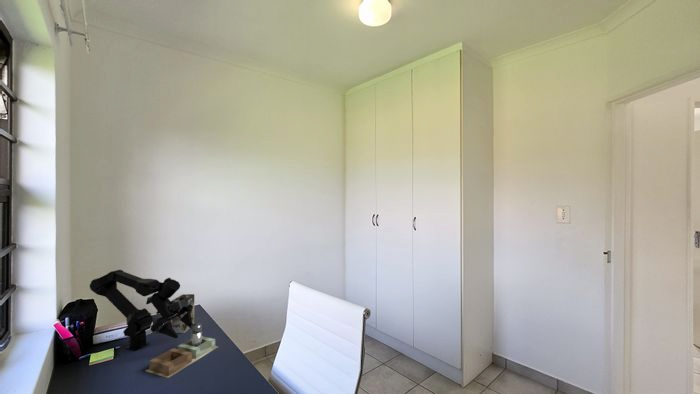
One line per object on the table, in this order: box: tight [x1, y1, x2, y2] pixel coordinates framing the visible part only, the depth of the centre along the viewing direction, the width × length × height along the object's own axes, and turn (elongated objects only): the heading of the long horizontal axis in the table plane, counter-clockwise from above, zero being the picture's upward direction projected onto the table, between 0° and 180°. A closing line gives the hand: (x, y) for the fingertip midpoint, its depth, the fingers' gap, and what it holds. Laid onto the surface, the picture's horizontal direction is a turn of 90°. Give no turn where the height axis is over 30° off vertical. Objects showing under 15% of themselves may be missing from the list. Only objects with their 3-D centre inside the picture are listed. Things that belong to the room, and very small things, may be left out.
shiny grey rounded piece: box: [190, 322, 203, 347], centre depth 126 cm, size 4×4×11 cm
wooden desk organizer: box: [145, 335, 219, 379], centre depth 121 cm, size 12×24×4 cm, turn 160°
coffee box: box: [171, 293, 195, 334], centre depth 149 cm, size 9×6×16 cm
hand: (185, 332), depth 127 cm, fingers open, 9 cm apart
